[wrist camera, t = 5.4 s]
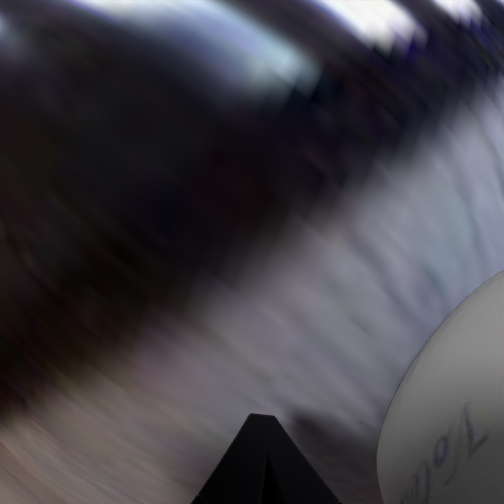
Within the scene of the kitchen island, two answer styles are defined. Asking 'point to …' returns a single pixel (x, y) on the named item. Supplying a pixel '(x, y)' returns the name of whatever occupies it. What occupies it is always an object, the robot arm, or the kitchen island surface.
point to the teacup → (450, 411)
